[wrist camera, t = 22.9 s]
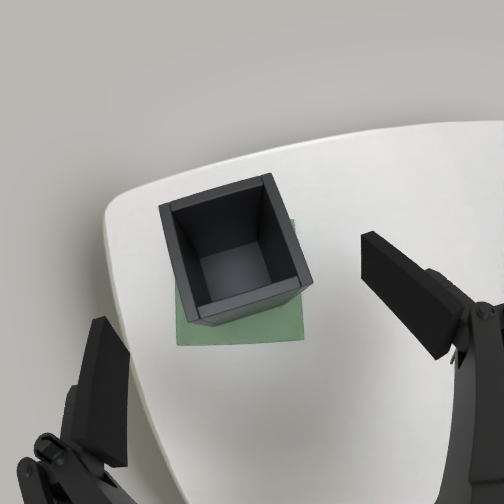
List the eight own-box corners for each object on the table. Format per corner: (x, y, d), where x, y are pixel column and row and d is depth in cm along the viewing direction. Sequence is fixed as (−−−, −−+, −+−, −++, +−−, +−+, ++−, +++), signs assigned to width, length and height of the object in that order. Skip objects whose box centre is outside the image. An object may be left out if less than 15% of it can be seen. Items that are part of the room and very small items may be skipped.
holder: (285, 304, 23) (313, 282, 13) (212, 327, 22) (187, 323, 13) (261, 234, 24) (271, 171, 15) (191, 255, 24) (157, 205, 14)
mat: (178, 345, 22) (176, 345, 22) (177, 226, 25) (175, 224, 25) (303, 339, 23) (304, 339, 22) (293, 221, 25) (294, 218, 25)
